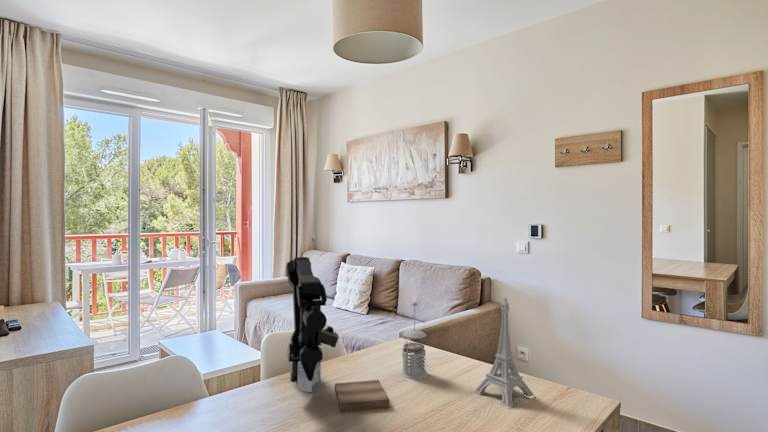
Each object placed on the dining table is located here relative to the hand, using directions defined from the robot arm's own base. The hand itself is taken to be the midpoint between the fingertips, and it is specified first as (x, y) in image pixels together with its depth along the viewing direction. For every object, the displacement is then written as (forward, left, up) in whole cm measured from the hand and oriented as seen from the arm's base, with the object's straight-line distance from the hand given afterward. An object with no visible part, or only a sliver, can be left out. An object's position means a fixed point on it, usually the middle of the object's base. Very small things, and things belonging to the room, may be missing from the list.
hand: (309, 374), depth 124 cm
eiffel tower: (+10, +59, -8) cm, 60 cm away
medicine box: (0, 0, -4) cm, 4 cm away
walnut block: (+4, +15, -7) cm, 17 cm away
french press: (-11, +36, -7) cm, 38 cm away
